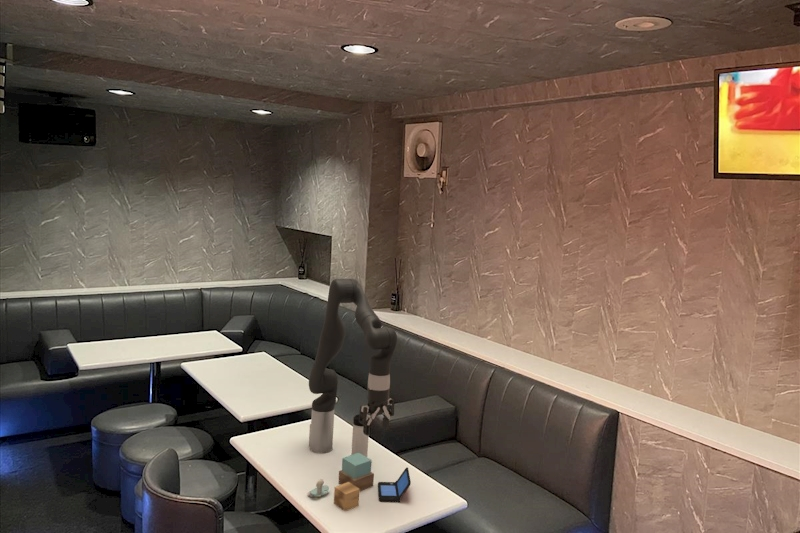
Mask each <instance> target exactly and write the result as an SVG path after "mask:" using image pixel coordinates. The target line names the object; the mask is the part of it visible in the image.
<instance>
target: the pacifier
mask: <svg viewBox="0 0 800 533" xmlns="http://www.w3.org/2000/svg"><path fill="white" fill-rule="evenodd" d="M324 483H325V480H324V479H323V478H320V479H318V481H317V482H316V484H315V485H316V486H315V488H313V489H311V490H309V491H308V492H307V496H308V497H312V498H313V497H314V498H321V497H323V496H324V495H326V494H328V493H329V491H330V488H329V487H330V486H328V485H326V484H325V485H324Z"/></svg>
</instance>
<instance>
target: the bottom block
mask: <svg viewBox="0 0 800 533" xmlns="http://www.w3.org/2000/svg"><path fill="white" fill-rule="evenodd" d="M374 477H375V474H374V472H372V471H371V473H370V474H367V475H365V476H362V477H359V478H357V479H354V478H352V477H350V476H349V475H347V474H346V473H344V472H343V471H342V469H340V470H339V471H338V484H339V485H341V484H344V483H347V482H350V483H351V484H353V485H354V486H356V487H357V488H359V489H360V491H359V492H361V491H365V490H366V489H369V488H372V487H373V486H374Z"/></svg>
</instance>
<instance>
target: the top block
mask: <svg viewBox="0 0 800 533" xmlns="http://www.w3.org/2000/svg"><path fill="white" fill-rule="evenodd" d="M372 462H373V460H372V459H370V458H369V457H368V456H367V457H365V456H364V455H362V454H360V453H356V454H353V455H351V454H349V455H348V456H344V457H342V464H341V470H342V471H343V472H344V473H346V474H347V475H349V476H350V477H352V478H354V479H357V478H359V477H362V476H365V475H367V474H370V473H371V472H372Z"/></svg>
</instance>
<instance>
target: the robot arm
mask: <svg viewBox="0 0 800 533" xmlns="http://www.w3.org/2000/svg"><path fill="white" fill-rule="evenodd" d="M326 303H327V304H326V309H325V310H326V311H325V316H324V322H323V326H322V329H321V331H320V337H319V340H318V347H317V351H316V355H315V359H314V362H313V364H312V367H311V370H310V374H309V378H308V387H309V391H310V393H312V394H313V395H314V394H315V395H318V394H321V395H319V396H318V397H317V398H315V399H314V400H312V402H311V420H310V422H311V423H310V424H309V434H308V439H309V440H308V447H309V450H310V451H312V452H313V453H316V454H326V453H330V452H331V451H332V450H333V443H334V442H333V441H334V440H333V439H334V428H335V427H334V425H335V407H336V406H335V405H336V402H337V395H338V385H339V380H338V375H337V372H336V370H334V369H332V368H327V367H328V366H329V364H330V363H331V362H332V361H333V359H335V357H336V356H337V355H338V354H339V352H341V350H342V348H343V345H344V342H345V341H344V340H345V337H346V330H345V327H344V324H343V322H342V320H341V318H340V315H339V307H340V305H341V304H351V303H352V304H354V305H356V309H355V311H354V316H355V321H356V323H357V324H358V326H359V328H360V329H361V330H362V332H363V336H364V339H365V344H366V346H367V348H369V349H371V350H375V351H376V350H377V351H378V350H380V352H379V353H378V352H377V353H376V354H373V355H371V357H370V358H369V370H368V378H367V389H366V391H367V392H366V399H367V405H363V404H362V405H360V406H359V412H358V413H359V414H358V415H359V423H361V424H363V433H364V434H365V435H367V436H368V435H369V436H370V435H371V434H370V431H371V423H372V421H374V420H375V417H378V416H381V415H382V425H381V426H382V429H384V430H389V425H390V419H391V417H393V416H394V415H395V399H393V398H391V397H390V386H391V375H390V373H391V363H392V359H393V355H394V352H395V349H396V348H397V347H396V346H397V343H398V335H397V332H396V330H395V329H394V328H392V327H382V325H383V324H382V321H381V319H380V318H379V316H378V315H377V314H376V313H375V311H374V310H373V308H372V306H371V305H370V303H369V301H368V299H367V297H366V294H365V292H364V289H363V288H362V286H361V284H360V283H359V281H358V280H356V279H354V278H334V279H333V280H332V281H331V282H330V285H329V289H328V295H327V302H326ZM362 418H363V420H362ZM368 418H369V419H368ZM367 419H368V421H367ZM369 436H368V437H369Z"/></svg>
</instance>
